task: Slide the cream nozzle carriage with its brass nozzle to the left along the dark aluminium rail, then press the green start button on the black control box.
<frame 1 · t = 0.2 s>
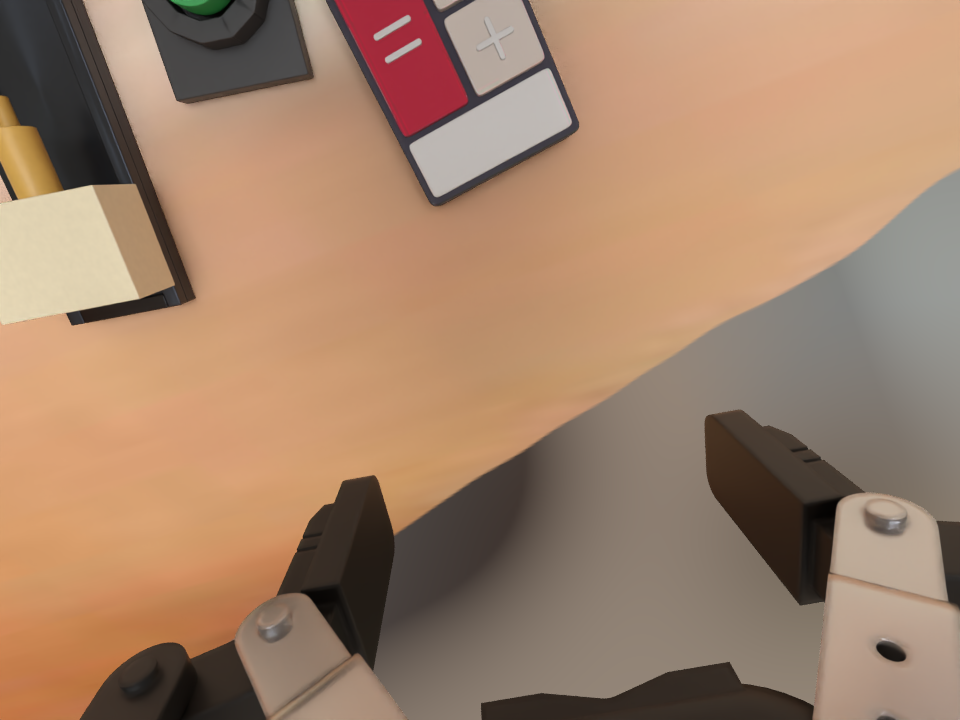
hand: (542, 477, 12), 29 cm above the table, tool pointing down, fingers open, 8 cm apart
rail: (54, 96, 35), on the table
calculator: (454, 67, 35), on the table
nozzle carriage: (57, 207, 33), point 4 cm above the table, slide at 0.0 cm
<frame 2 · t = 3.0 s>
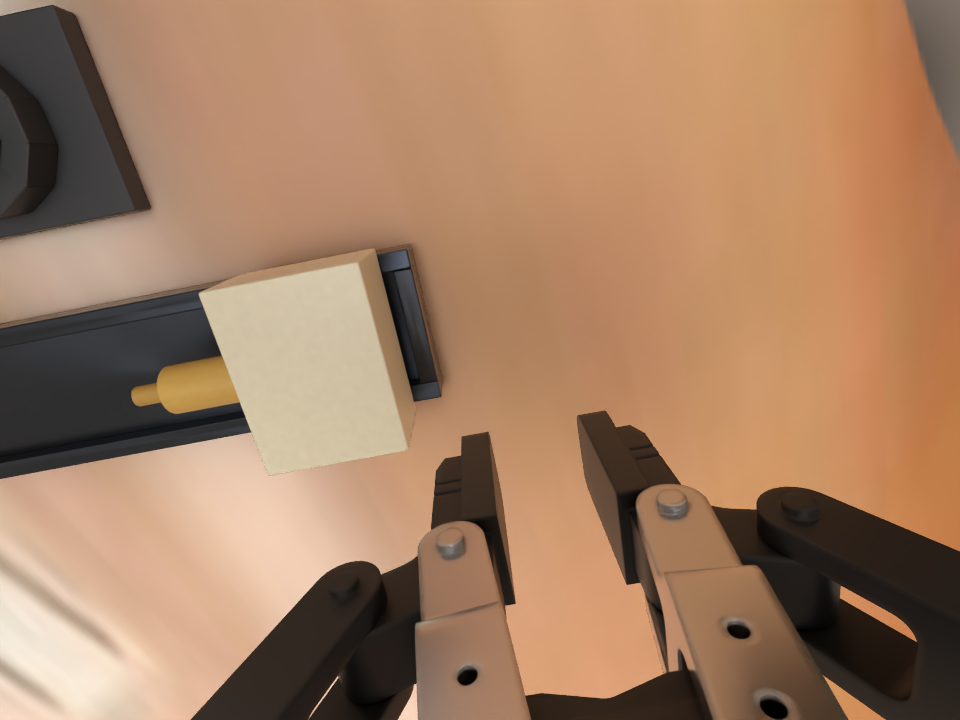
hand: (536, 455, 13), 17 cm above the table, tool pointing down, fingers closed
rail: (177, 364, 30), on the table
button box: (1, 140, 26), on the table
nozzle carriage: (269, 366, 26), point 4 cm above the table, slide at 0.0 cm
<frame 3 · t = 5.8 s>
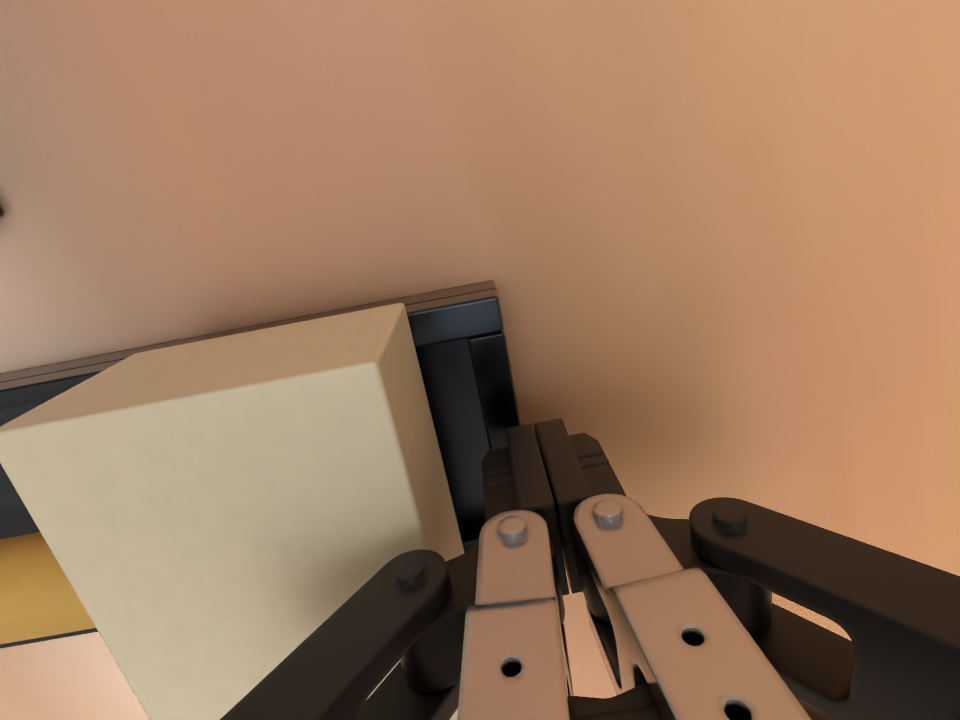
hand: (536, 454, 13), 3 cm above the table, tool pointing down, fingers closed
rail: (74, 486, 17), on the table
nozzle carriage: (194, 535, 13), point 4 cm above the table, slide at 0.8 cm, touching gripper
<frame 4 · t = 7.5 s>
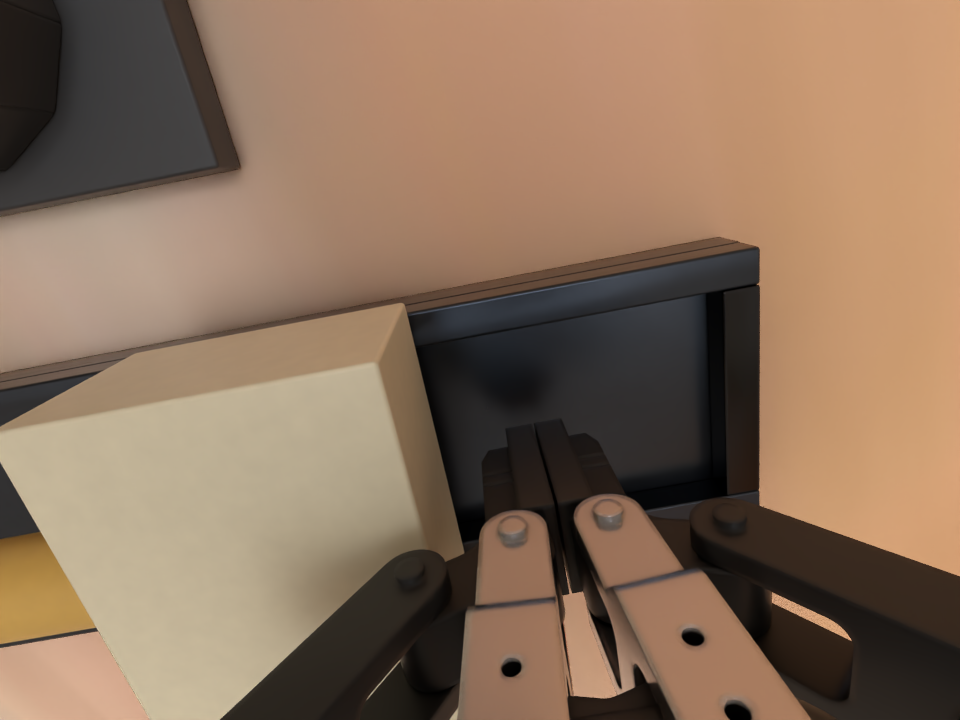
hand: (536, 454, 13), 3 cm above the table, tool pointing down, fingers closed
rail: (270, 450, 17), on the table
nozzle carriage: (194, 535, 13), point 4 cm above the table, slide at 7.6 cm, touching gripper
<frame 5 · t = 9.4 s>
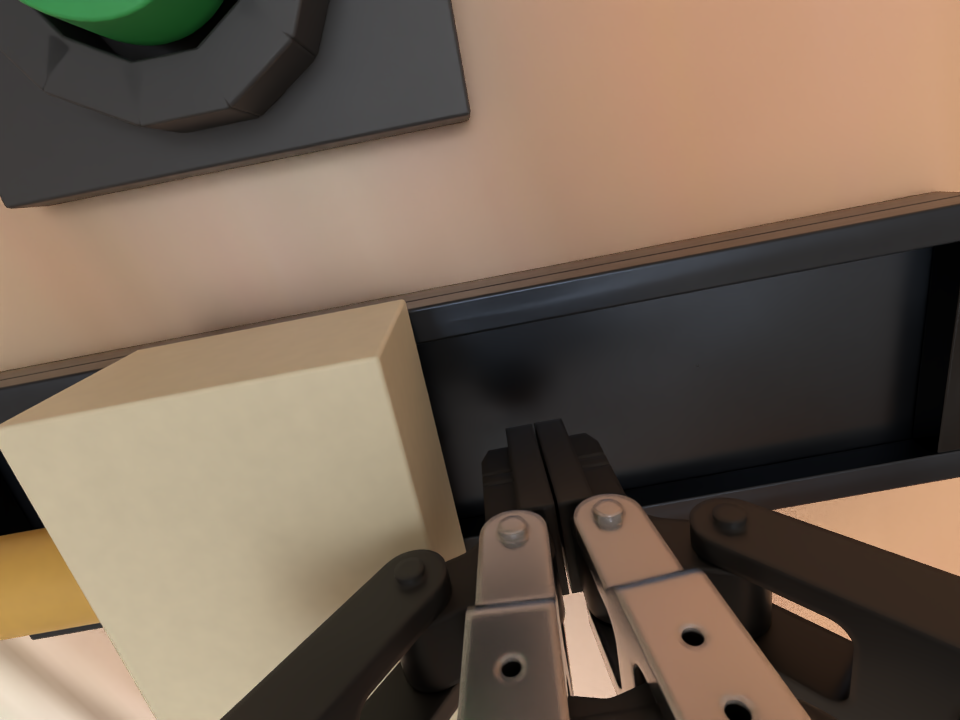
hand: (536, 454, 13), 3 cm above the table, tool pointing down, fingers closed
rail: (459, 412, 17), on the table
nozzle carriage: (196, 531, 13), point 4 cm above the table, slide at 14.0 cm, touching gripper
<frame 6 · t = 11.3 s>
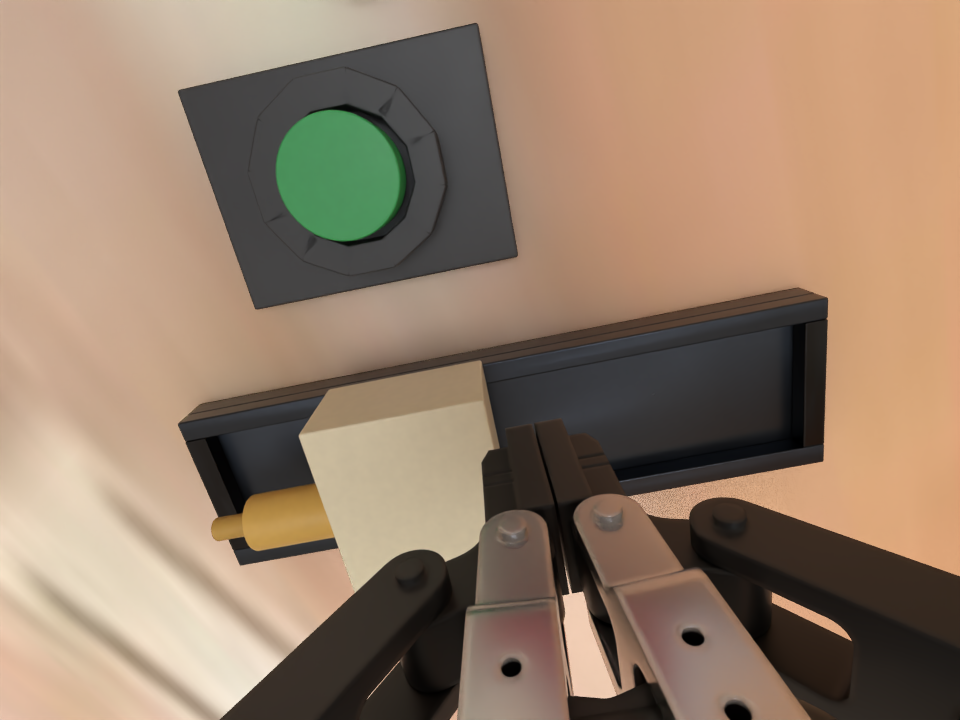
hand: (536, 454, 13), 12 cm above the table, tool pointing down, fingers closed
rail: (506, 422, 27), on the table
start button: (343, 178, 19), point 4 cm above the table, slide at 0.1 cm
button box: (363, 178, 23), on the table
nozzle carriage: (362, 492, 23), point 4 cm above the table, slide at 14.0 cm
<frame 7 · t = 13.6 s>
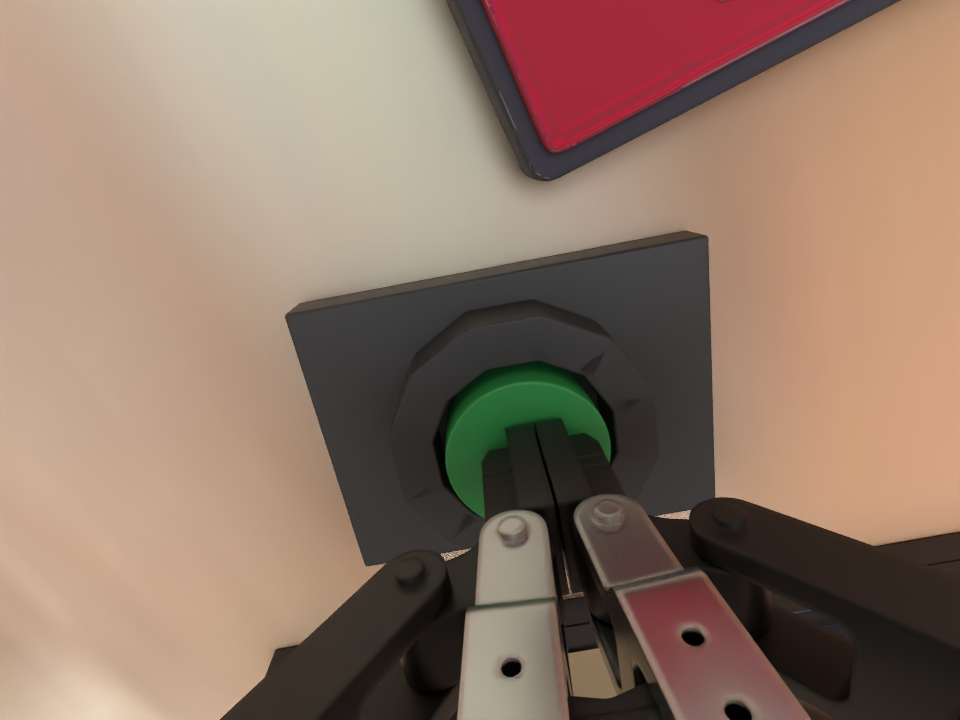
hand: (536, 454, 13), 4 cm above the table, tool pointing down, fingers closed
rail: (657, 663, 21), on the table
start button: (524, 441, 14), point 3 cm above the table, slide at -0.8 cm, touching gripper
button box: (514, 400, 17), on the table
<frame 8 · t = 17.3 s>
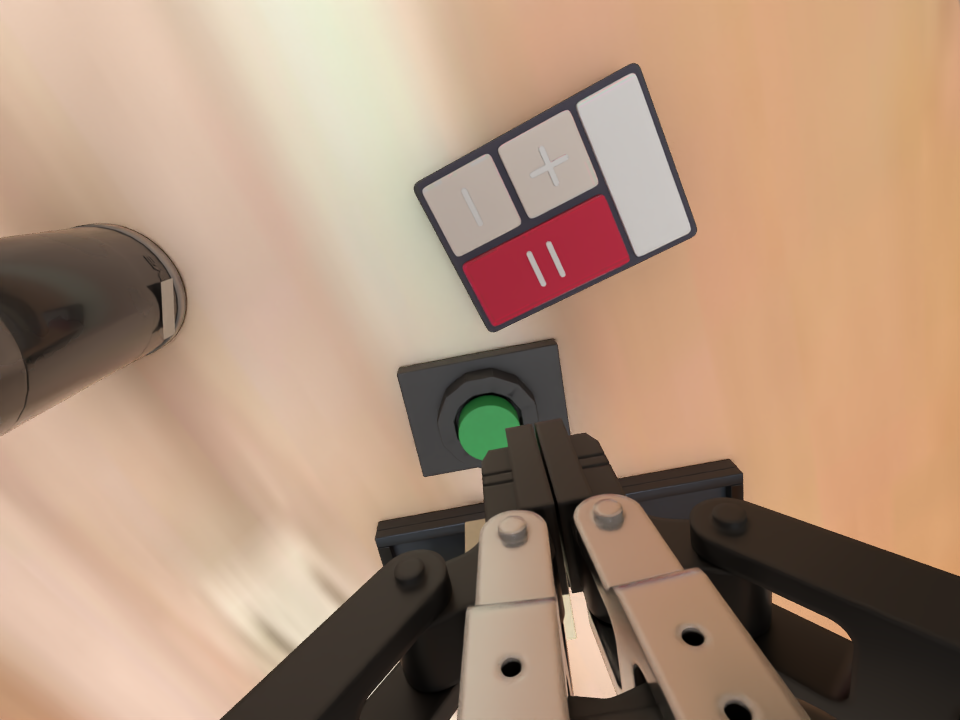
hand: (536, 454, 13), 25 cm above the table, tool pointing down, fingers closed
rail: (558, 530, 45), on the table
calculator: (549, 206, 36), on the table
start button: (489, 427, 37), point 4 cm above the table, slide at 0.1 cm
button box: (486, 405, 40), on the table
nozzle carriage: (483, 579, 41), point 4 cm above the table, slide at 14.0 cm
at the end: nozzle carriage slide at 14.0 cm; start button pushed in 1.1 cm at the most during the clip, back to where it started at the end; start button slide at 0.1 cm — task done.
